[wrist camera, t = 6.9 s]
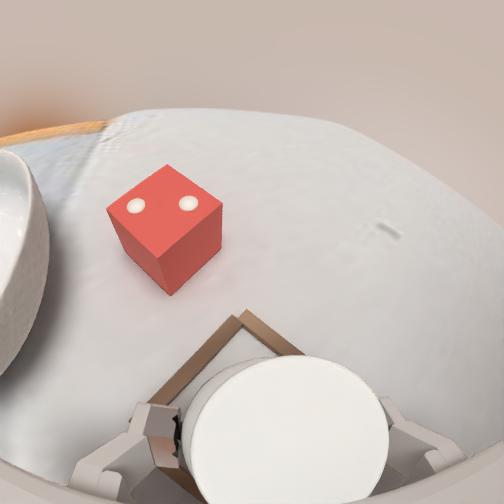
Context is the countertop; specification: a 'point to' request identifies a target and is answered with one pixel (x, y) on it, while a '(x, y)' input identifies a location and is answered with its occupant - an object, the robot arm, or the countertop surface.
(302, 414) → the pill bottle
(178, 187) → the red die
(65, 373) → the countertop surface
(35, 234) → the cereal bowl
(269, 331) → the track frame
